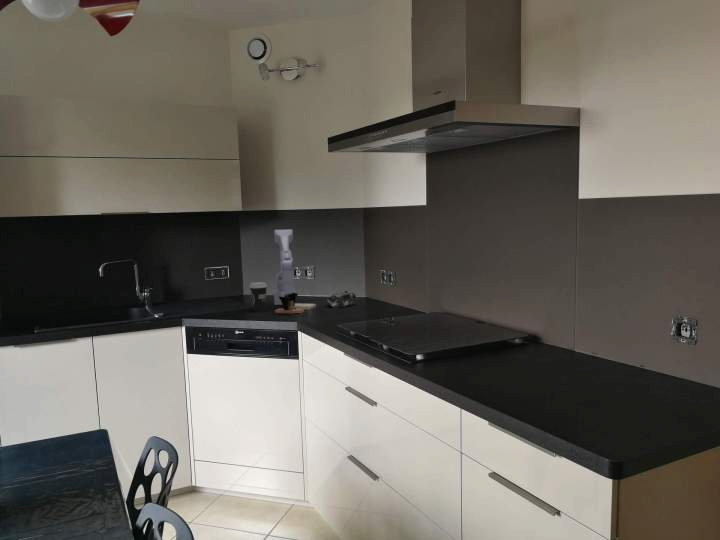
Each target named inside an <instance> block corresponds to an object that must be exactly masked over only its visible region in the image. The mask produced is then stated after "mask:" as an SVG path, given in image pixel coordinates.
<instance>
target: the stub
mask: <svg viewBox="0 0 720 540" xmlns="http://www.w3.org/2000/svg"><path fill="white" fill-rule="evenodd" d="M274 312H275V314H294V313H300V314H302V312H303V313H304V312H305V309H294V301H289V306H288V310H284V308H283V307H282V308H277V309H275V310H274Z"/></svg>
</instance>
